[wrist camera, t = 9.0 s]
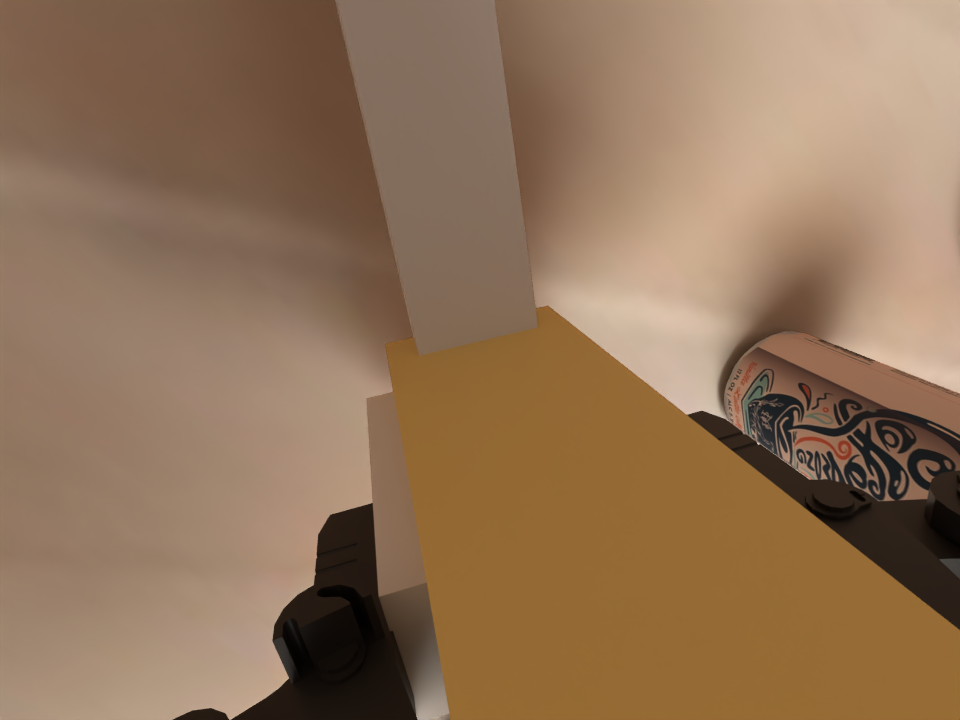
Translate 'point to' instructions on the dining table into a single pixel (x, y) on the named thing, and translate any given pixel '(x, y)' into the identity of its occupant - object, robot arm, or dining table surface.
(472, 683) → the rake tool
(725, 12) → the dining table surface
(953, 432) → the beer can
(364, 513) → the robot arm
